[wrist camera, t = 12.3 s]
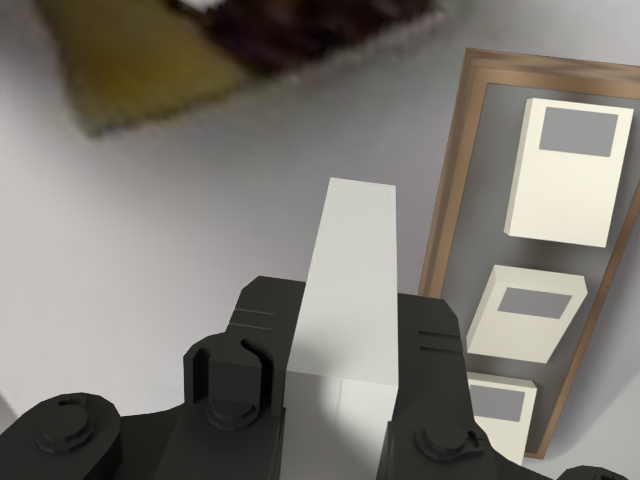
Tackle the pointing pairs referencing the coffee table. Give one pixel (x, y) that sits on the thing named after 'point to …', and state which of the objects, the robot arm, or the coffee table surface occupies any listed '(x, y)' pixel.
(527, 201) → the rocker
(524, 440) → the rocker
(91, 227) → the coffee table surface
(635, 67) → the wooden storage box
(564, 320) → the block
